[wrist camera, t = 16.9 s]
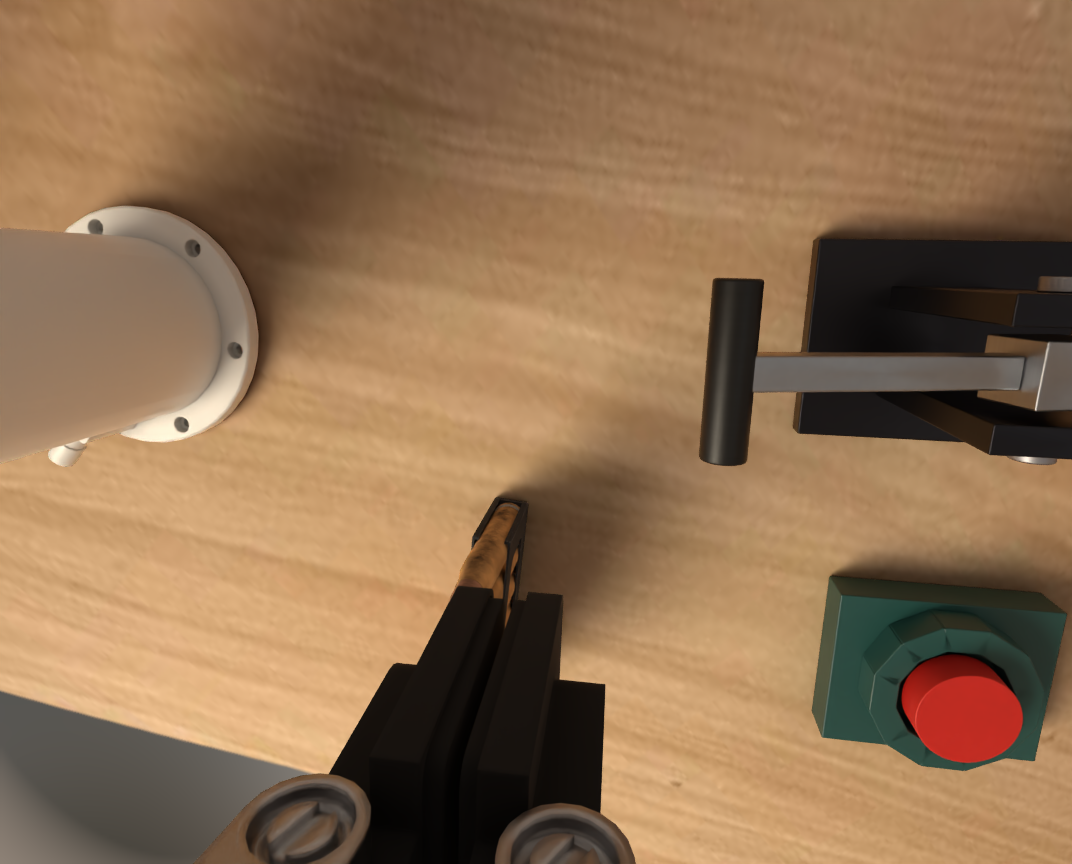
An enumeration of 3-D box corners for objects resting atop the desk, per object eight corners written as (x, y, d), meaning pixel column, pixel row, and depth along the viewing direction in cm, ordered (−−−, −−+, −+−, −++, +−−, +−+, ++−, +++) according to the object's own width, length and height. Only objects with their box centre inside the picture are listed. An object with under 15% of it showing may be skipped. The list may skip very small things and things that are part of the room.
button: (894, 731, 33) (908, 756, 31) (908, 649, 32) (923, 670, 30) (994, 742, 32) (1013, 768, 30) (1011, 659, 31) (1032, 681, 29)
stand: (792, 428, 34) (868, 508, 22) (813, 239, 32) (909, 221, 20) (1034, 440, 32) (1250, 533, 21) (1073, 242, 30) (1337, 225, 19)
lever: (686, 450, 22) (716, 472, 20) (698, 277, 21) (733, 278, 19) (1037, 442, 24) (1101, 461, 22) (1068, 284, 23) (1140, 286, 21)
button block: (811, 711, 37) (830, 762, 33) (829, 575, 35) (852, 612, 31) (1011, 732, 35) (1056, 788, 32) (1041, 592, 34) (1092, 633, 30)
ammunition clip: (509, 675, 39) (454, 844, 28) (478, 669, 39) (410, 835, 28) (528, 501, 37) (477, 607, 25) (495, 496, 37) (428, 599, 25)
